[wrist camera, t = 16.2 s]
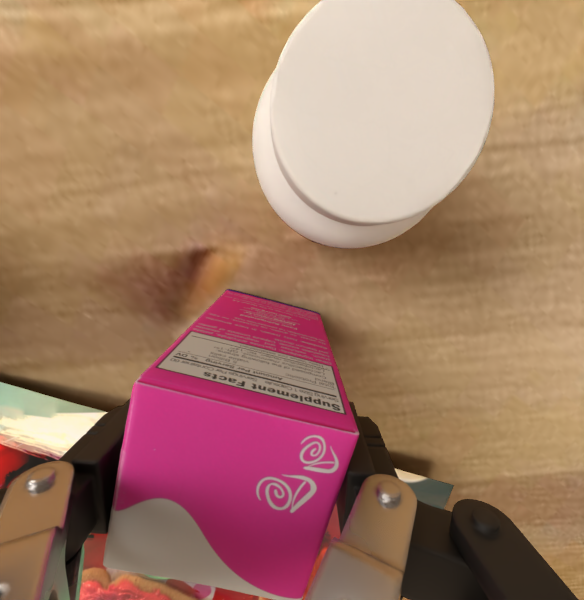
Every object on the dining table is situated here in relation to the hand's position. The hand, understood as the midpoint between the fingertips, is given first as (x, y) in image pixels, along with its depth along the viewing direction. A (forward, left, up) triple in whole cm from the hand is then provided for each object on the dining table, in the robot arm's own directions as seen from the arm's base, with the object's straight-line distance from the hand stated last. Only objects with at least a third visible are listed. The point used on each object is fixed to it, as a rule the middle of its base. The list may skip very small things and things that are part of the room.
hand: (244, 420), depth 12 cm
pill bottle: (-10, 0, -8) cm, 13 cm away
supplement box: (0, 0, -8) cm, 8 cm away
